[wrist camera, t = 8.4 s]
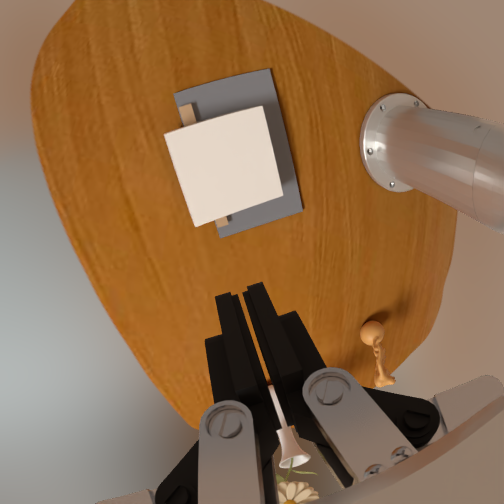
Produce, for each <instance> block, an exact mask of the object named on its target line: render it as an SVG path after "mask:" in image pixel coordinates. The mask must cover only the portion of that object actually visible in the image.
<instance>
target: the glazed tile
mask: <svg viewBox="0 0 504 504" xmlns="http://www.w3.org/2000/svg"><path fill="white" fill-rule="evenodd" d="M164 137H165V140H166V143H167V146H168V150H169V153H170V156H171V159H172V162H173V165H174V168H175V171H176V174H177V177H178V180H179V183H180V186H181V189H182V192H183V195H184V198H185V201H186V203H187V206H188V209H189V212H190V215H191V218H192V220H193V223H194V225H195V227H197V226H200V225H203V224H205V223H208V222H211V221H213V220H216V219H219V218H221V217H224V216H227V215H230V214H232V213H235V212H238V211H241V210H244V209H246V208H249V207H252V206H255V205H258V204H261V203H263V202H266V201H269V200H272V199H275V198H278V197H281V196H283V191H282V187H281V182H280V178H279V173H278V169H277V164H276V160H275V156H274V151H273V147H272V143H271V139H270V135H269V130H268V126H267V122H266V118H265V114H264V110H263V106H256V107H250V108H246V109H242V110H239V111H235V112H231V113H227V114H224V115H220V116H217V117H213V118H210V119H206V120H203V121H200V122H197V123H193V124H190V125H187V126H184V127H181V128H178V129H175V130H172V131H169V132H166V133H164Z"/></svg>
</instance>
